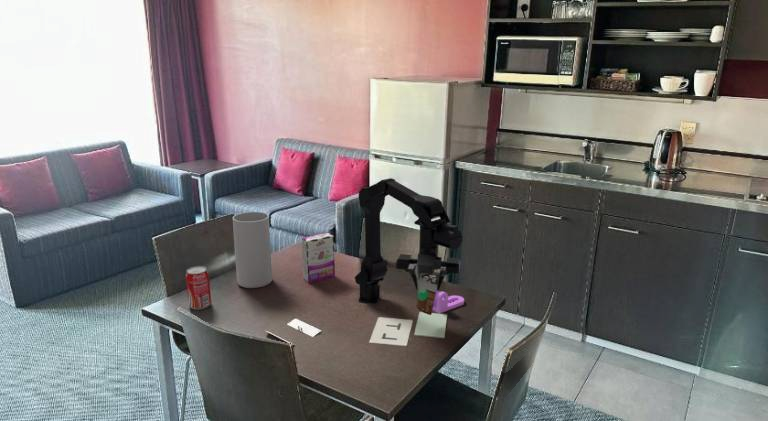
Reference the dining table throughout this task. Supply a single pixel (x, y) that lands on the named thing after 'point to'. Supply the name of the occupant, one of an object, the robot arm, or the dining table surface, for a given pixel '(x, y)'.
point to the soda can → (198, 287)
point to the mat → (431, 325)
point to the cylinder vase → (252, 249)
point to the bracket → (446, 302)
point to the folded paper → (301, 328)
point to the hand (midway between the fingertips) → (427, 289)
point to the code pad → (391, 331)
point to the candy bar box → (318, 257)
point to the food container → (427, 292)
